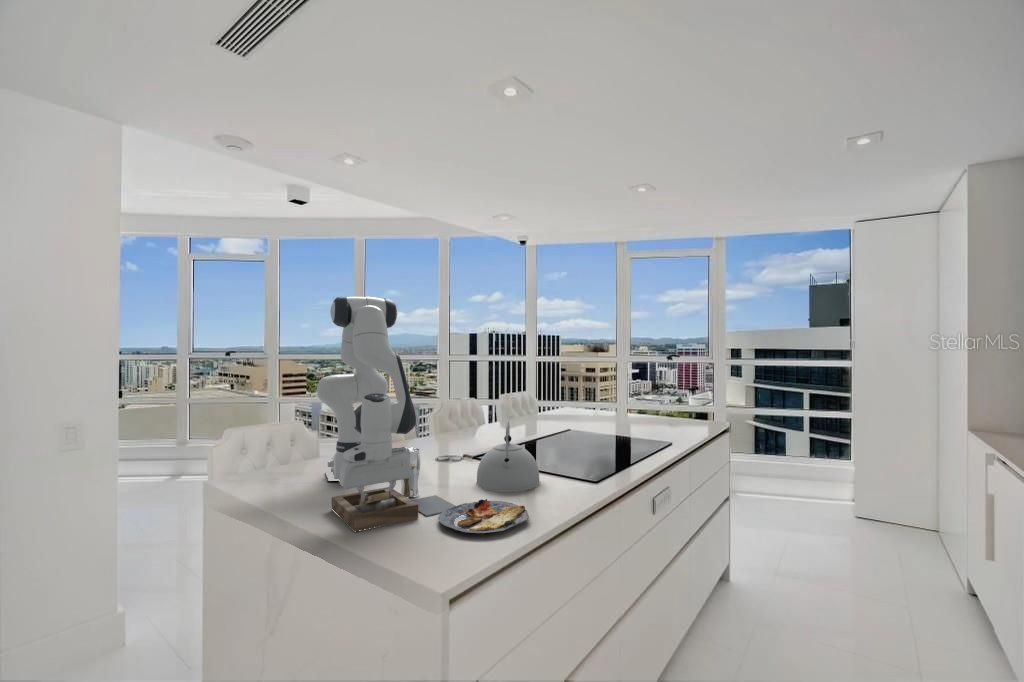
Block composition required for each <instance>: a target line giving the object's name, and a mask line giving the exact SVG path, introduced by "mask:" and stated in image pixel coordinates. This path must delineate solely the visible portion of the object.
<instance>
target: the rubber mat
mask: <svg viewBox="0 0 1024 682" xmlns="http://www.w3.org/2000/svg"><path fill="white" fill-rule="evenodd" d="M411 500H412V501H413V502H415V503H417V504H418V511H419V512H418V513H420V512H421V513H422V515H423V516H424V515H425V516H424V517H426V518H427V517H431V515H432V516H435V515H440V514H441V513H442V512H443V511H445V510H448V509H450V508H453V507H455V506H456V505H455V504H454V503H451V502H449V501H447V500H446V499H444V498H443V497H440V496H438V495H436V494H433V495H430V496H424V497H419V498H415V499H411ZM421 513H420V514H421Z"/></svg>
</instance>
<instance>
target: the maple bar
mask: <svg viewBox="0 0 1024 682" xmlns="http://www.w3.org/2000/svg"><path fill="white" fill-rule="evenodd" d="M385 499H389V492H385V493H380V494H374V495H371V496H368V501H364V502H362V501H361V499H358V501H359V505H361V504H367V503H372V502H377V501H382V500H385Z"/></svg>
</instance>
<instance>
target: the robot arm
mask: <svg viewBox="0 0 1024 682" xmlns="http://www.w3.org/2000/svg"><path fill="white" fill-rule="evenodd" d="M330 317H331V320H332V323H333V324H334V325H335V326H336V327H341V328H343V329H342V336H341V347H340V358H341V359H340V360H341V361H342V363H344V365H347V366H348V367H351V368H353V369H355V373H343V374H341V373H340V374H332V375H327V376H326V375H325V376H324V377H322V378H321V379H320V380H319V381H318V383H317V385H316V395H317V397H318V399H319V400H320V401H321V402H322V403H323V404H324V405H325V406H327V407H328V408H329V409H331V411H332V412H333V414H334V416H335V419H336V424H337V441H336V445H335V450H336V451H335V453H334V454H333V456H332V457H331V460H328V461H327V468H330V469H331V472H333V475H334V479H339V480H340V482H339V484H340V486H341V487H342V488H344V489H345V490H346V489H348V490H349V489H355V488H356V490H357V492H359V493H360V494H361V501H362V502H364V501H368V495H367V494H364V492H363V491H365V486H370V485H371V486H372V485H377V484H383V483H388V484H389V485H388V487H389V488H388V490H385V492H389V497H391V496H392V490H393V489H395V486H396V485H397V483H396V482H397V481H401V480H402V479H408V478H409V477H410V475H411V466H410V450H409V449H407V447H406V446H402V447H393V436H392V434H397V435H399V434H400V435H407V434H408V433H410V432H411V431H412V430H413V429H414V428H415V427H416V425H417V414H416V413H417V412H416V409H415V406H414V404H413V399H412V397H411V393H410V389H409V385H408V384H409V383H408V381H407V377H406V373H405V369H404V364H403V362H402V359H401V357H400V355H399V354H398V353H397V352H395V351H394V350H393V349H392V347H391V345H390V343H389V342H390V341H389V332H388V329H390V328H392V327H394V326H395V324H396V322H397V318H398V309H397V304H396V302H394V301H393V300H391V299H389V298H381V297H380V298H379V297H375V296H373V297H372V296H346V295H345V296H344V295H343V296H339V297H338V296H337V297H336V298H334V300H333V302H332V303H331V305H330ZM378 370H379V371H381V372H383V373H385V374H386V375H388V376H389V378H391V380H392V381H391V382H392V384H393V389H394V392H395V397H396V401H391V400H390V399H391V398H390V396H389V395H387V394H388V391H389V384H388V380H387V379H386V378H385V376H384V375H382V374H381V373H380V372H379V371H378ZM359 403H360V405H359V406H358V407H356V409H354V405H353V404H359Z"/></svg>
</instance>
